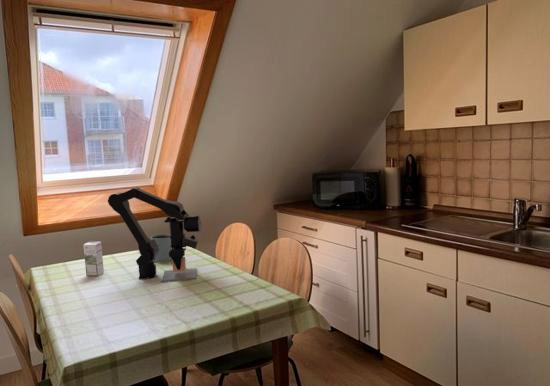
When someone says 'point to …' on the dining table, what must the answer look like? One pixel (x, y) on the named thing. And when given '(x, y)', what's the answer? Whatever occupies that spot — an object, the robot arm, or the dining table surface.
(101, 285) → the dining table surface
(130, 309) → the dining table surface
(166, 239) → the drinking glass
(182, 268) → the terracotta block
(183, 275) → the slate plate
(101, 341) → the dining table surface
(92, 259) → the syrup box
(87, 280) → the dining table surface
